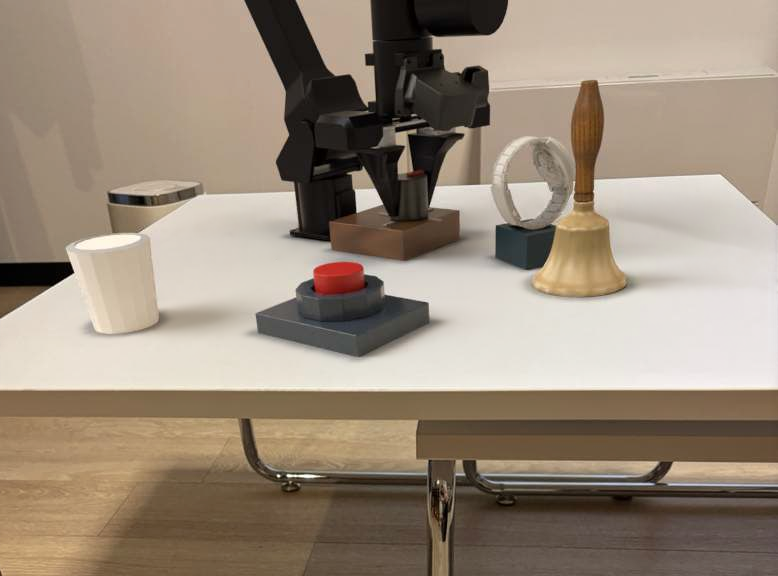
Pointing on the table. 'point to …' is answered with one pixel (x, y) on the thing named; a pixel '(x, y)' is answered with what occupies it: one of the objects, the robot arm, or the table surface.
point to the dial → (412, 196)
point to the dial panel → (393, 233)
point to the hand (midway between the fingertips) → (408, 212)
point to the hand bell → (582, 217)
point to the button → (339, 278)
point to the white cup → (116, 281)
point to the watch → (535, 236)
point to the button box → (343, 318)
